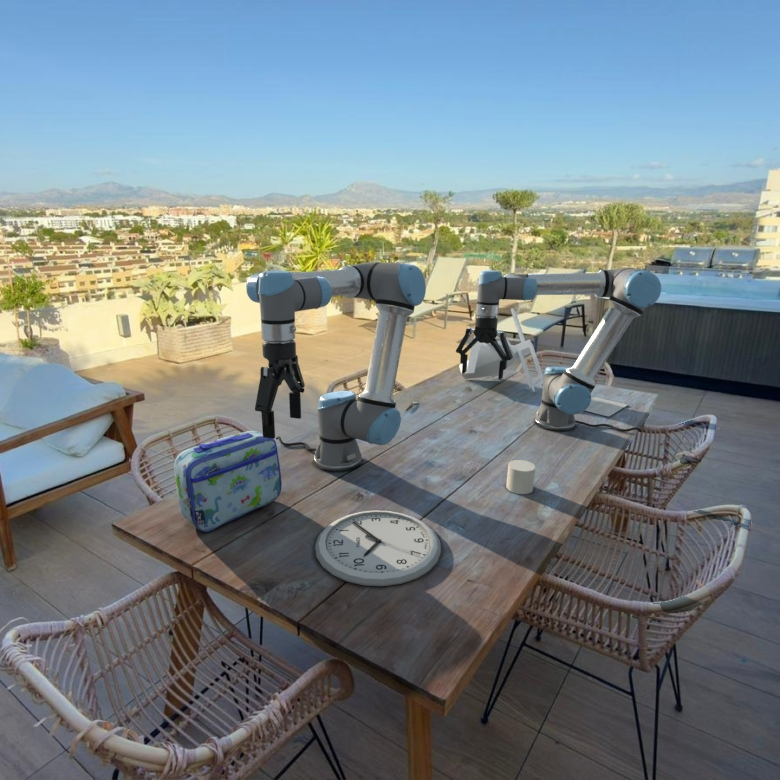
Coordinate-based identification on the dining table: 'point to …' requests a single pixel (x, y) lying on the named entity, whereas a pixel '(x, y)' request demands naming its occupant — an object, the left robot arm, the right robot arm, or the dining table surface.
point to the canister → (520, 476)
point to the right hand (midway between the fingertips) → (482, 375)
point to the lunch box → (227, 478)
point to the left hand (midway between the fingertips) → (283, 427)
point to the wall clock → (378, 548)
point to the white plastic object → (488, 360)
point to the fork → (413, 403)
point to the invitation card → (604, 406)
